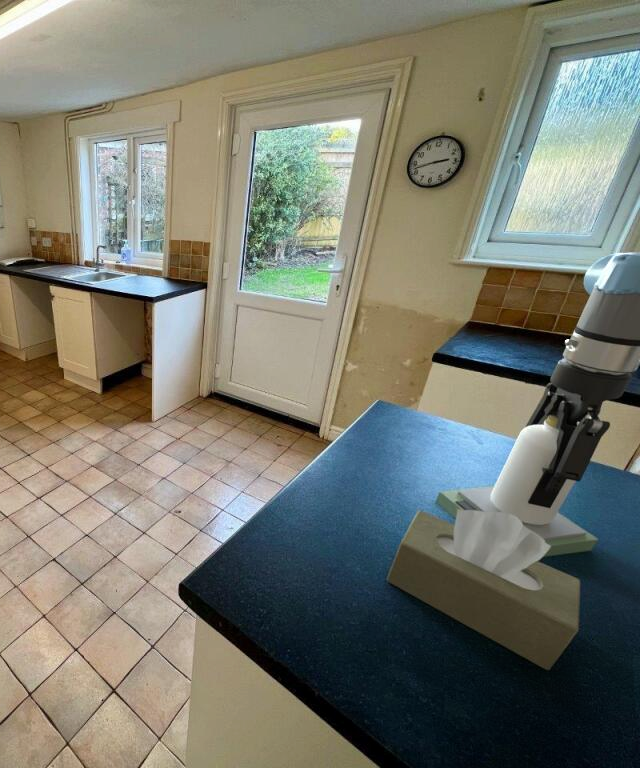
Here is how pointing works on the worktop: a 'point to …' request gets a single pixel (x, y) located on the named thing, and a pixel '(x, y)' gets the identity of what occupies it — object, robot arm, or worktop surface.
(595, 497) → the worktop surface
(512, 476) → the white bottle
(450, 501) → the kitchen scale
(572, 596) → the tissue box
